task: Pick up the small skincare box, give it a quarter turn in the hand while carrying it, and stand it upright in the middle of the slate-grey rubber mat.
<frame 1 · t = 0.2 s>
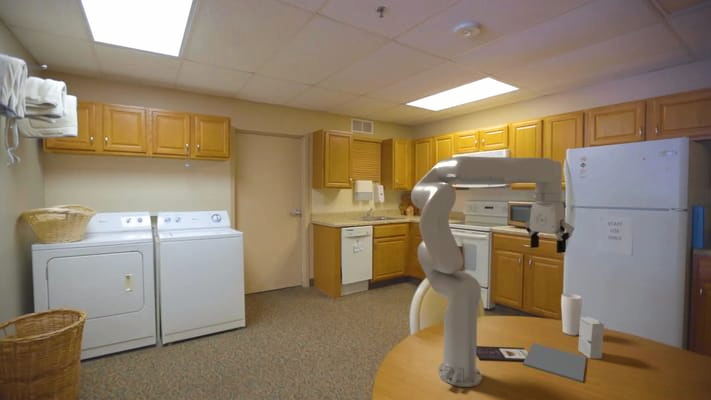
hand: (547, 249, 109), 37 cm above the table, tool pointing down, fingers open, 9 cm apart
skincare box: (590, 355, 113), on the table
white hollow tapered cylinder: (570, 333, 130), on the table
chocolate bar: (502, 356, 113), on the table
mat: (555, 361, 109), on the table
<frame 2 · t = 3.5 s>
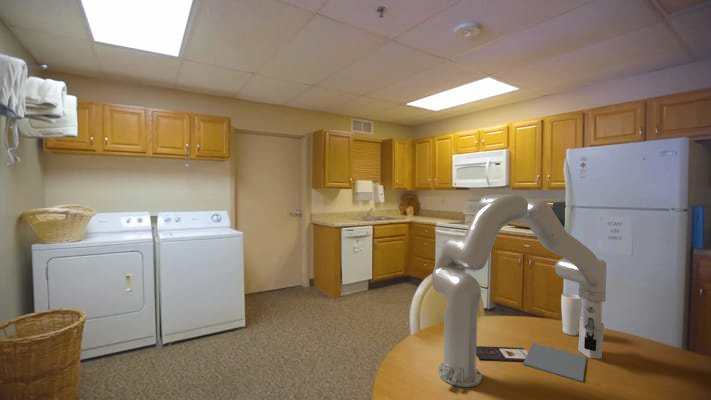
hand: (590, 345, 113), 3 cm above the table, tool pointing down, fingers closed on skincare box, 7 cm apart
skincare box: (590, 355, 113), on the table, touching gripper
everything else where it was.
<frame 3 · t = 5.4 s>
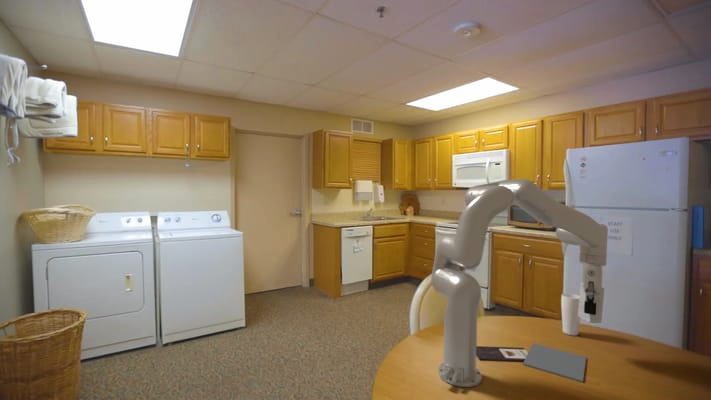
hand: (590, 310, 113), 16 cm above the table, tool pointing down, fingers closed on skincare box, 7 cm apart
skincare box: (589, 320, 113), point 12 cm above the table, touching gripper
everything else where it was.
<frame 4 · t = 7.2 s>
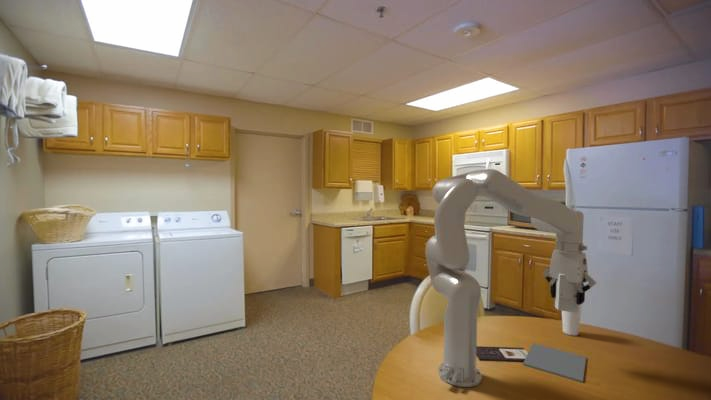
hand: (566, 299, 109), 20 cm above the table, tool pointing down, fingers closed on skincare box, 7 cm apart
skincare box: (566, 310, 109), point 17 cm above the table, touching gripper
everything else where it was.
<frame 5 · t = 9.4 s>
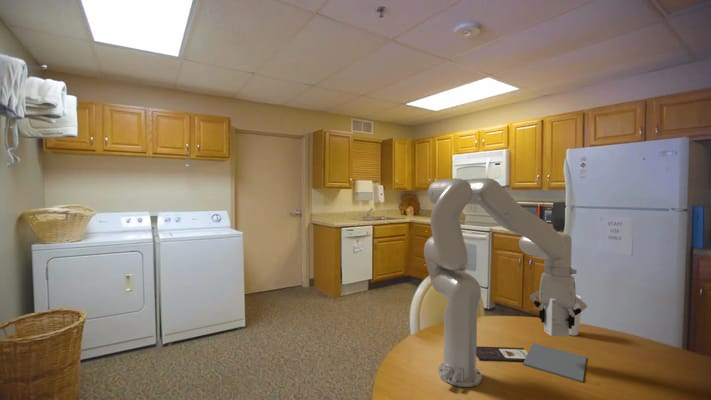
hand: (556, 323, 108), 13 cm above the table, tool pointing down, fingers closed on skincare box, 7 cm apart
skincare box: (556, 334, 108), point 9 cm above the table, touching gripper
everything else where it was.
when the fingers open (5 cm above the table, at t = 11.3 s): skincare box drops 1 cm, resting on mat.
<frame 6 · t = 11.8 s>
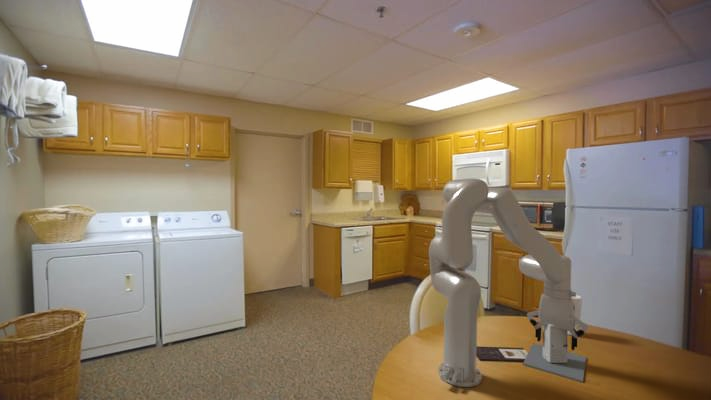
hand: (555, 344, 108), 6 cm above the table, tool pointing down, fingers open, 9 cm apart
skincare box: (554, 360, 108), resting on mat
everything else where it was.
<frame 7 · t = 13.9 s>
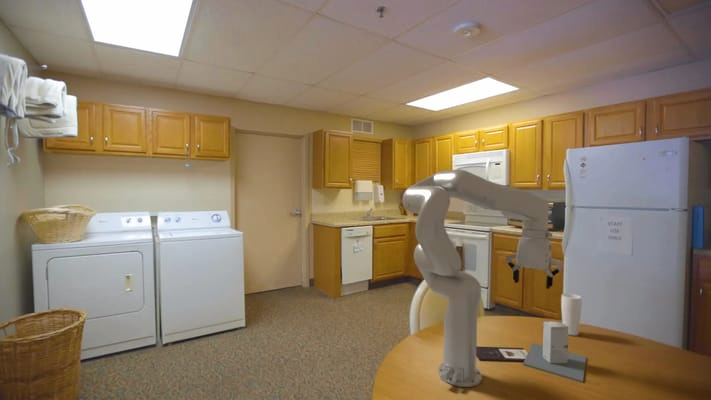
hand: (532, 285, 111), 25 cm above the table, tool pointing down, fingers open, 9 cm apart
nothing on the table moved.
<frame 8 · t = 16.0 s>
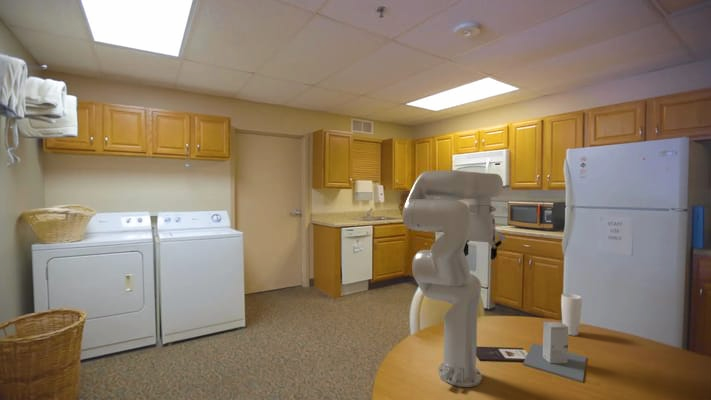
hand: (479, 257, 119), 32 cm above the table, tool pointing down, fingers open, 9 cm apart
nothing on the table moved.
at the end: skincare box inside the target area on the mat (0.1 cm from its centre), point 0.3 cm above the mat's base; skincare box tilted 0°; the gripper is holding nothing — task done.
